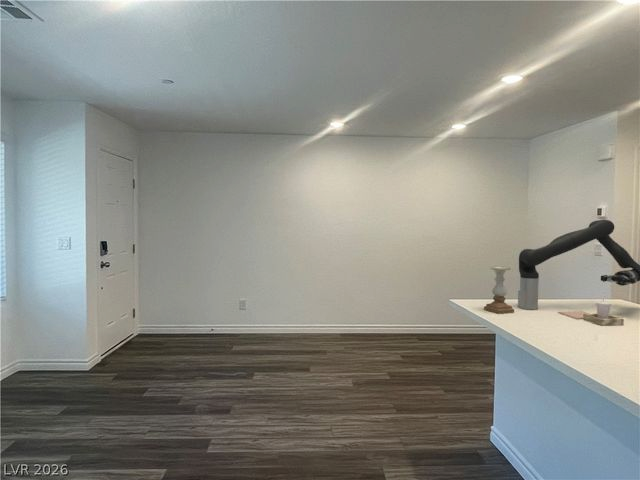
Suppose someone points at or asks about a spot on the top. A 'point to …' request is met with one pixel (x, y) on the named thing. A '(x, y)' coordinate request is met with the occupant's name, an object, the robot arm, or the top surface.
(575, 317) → the tile
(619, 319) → the square wooden tray
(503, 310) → the candle holder
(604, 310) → the smoothie
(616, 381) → the top surface
